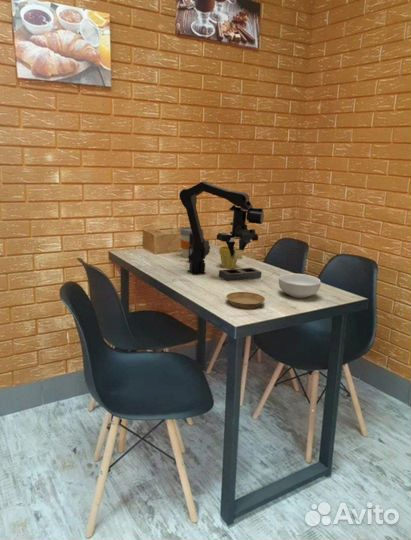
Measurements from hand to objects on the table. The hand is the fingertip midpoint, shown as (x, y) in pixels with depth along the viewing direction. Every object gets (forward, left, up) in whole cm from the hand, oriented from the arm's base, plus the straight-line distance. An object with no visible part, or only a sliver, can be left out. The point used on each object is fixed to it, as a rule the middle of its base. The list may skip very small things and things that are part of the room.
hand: (235, 255), depth 206 cm
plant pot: (+8, +20, -11) cm, 24 cm away
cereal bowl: (+12, -30, -11) cm, 34 cm away
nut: (0, 0, -1) cm, 1 cm away
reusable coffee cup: (-1, +45, -11) cm, 46 cm away
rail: (+3, +1, -11) cm, 11 cm away
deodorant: (-5, +33, -11) cm, 35 cm away
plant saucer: (-15, -32, -11) cm, 37 cm away
